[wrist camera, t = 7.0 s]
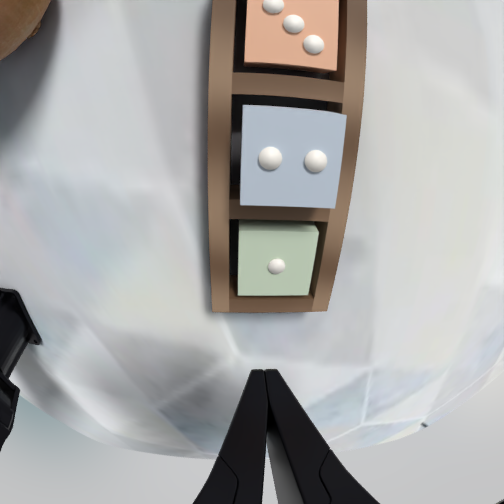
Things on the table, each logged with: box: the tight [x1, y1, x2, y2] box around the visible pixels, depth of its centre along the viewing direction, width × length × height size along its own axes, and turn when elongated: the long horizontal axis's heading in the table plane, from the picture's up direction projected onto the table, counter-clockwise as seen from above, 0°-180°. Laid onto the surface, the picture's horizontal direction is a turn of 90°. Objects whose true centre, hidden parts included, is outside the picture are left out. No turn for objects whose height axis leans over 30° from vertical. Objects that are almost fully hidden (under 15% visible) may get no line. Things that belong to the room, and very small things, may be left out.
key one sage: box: [238, 219, 319, 296], centre depth 16 cm, size 4×4×2 cm
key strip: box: [208, 0, 367, 313], centre depth 14 cm, size 19×7×2 cm, turn 178°
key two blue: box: [240, 105, 347, 209], centre depth 12 cm, size 4×4×2 cm
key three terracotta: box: [244, 0, 339, 73], centre depth 10 cm, size 4×4×2 cm
